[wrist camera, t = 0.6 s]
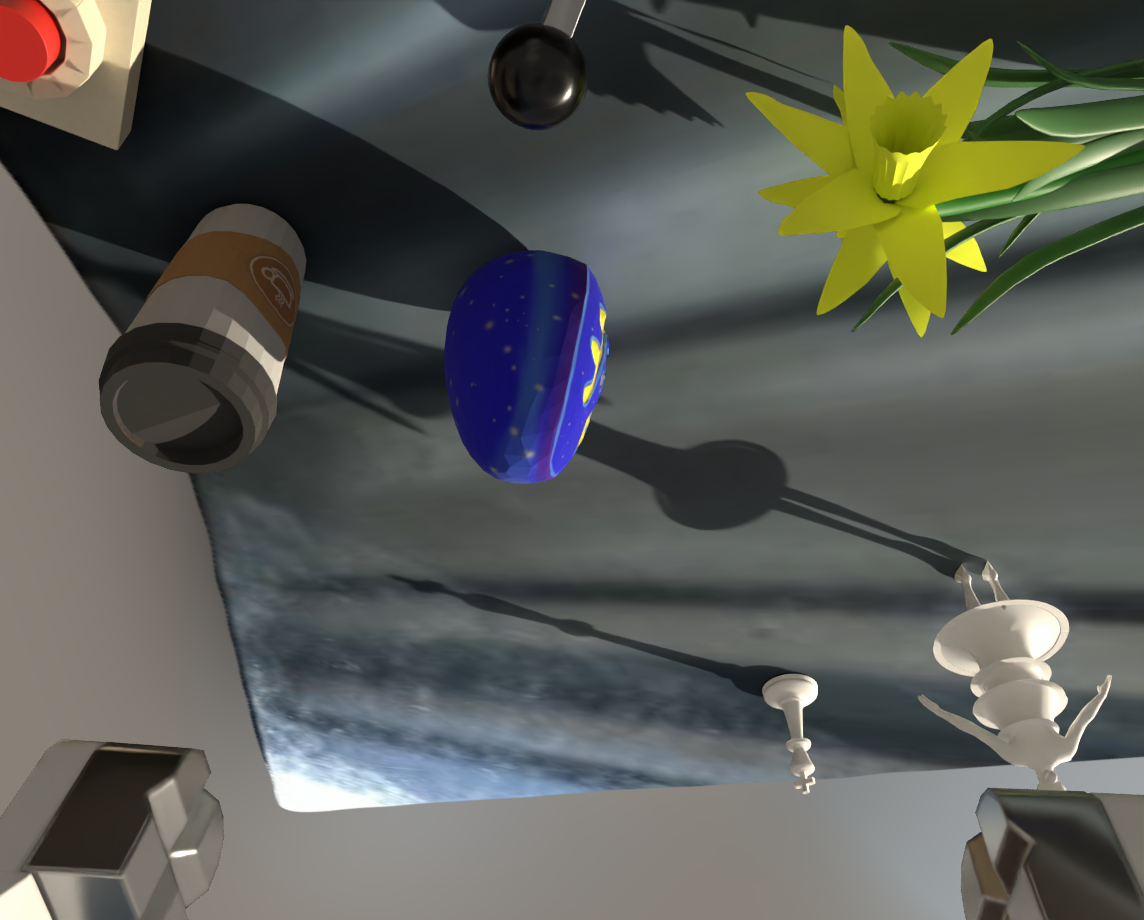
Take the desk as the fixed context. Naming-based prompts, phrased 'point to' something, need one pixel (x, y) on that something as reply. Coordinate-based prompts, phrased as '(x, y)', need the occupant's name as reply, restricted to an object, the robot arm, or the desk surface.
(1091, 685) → the desk surface
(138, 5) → the block
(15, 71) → the button
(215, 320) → the coffee cup
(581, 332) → the ornament
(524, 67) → the lever
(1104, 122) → the daffodil flowers
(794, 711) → the chess piece
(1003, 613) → the figurine
